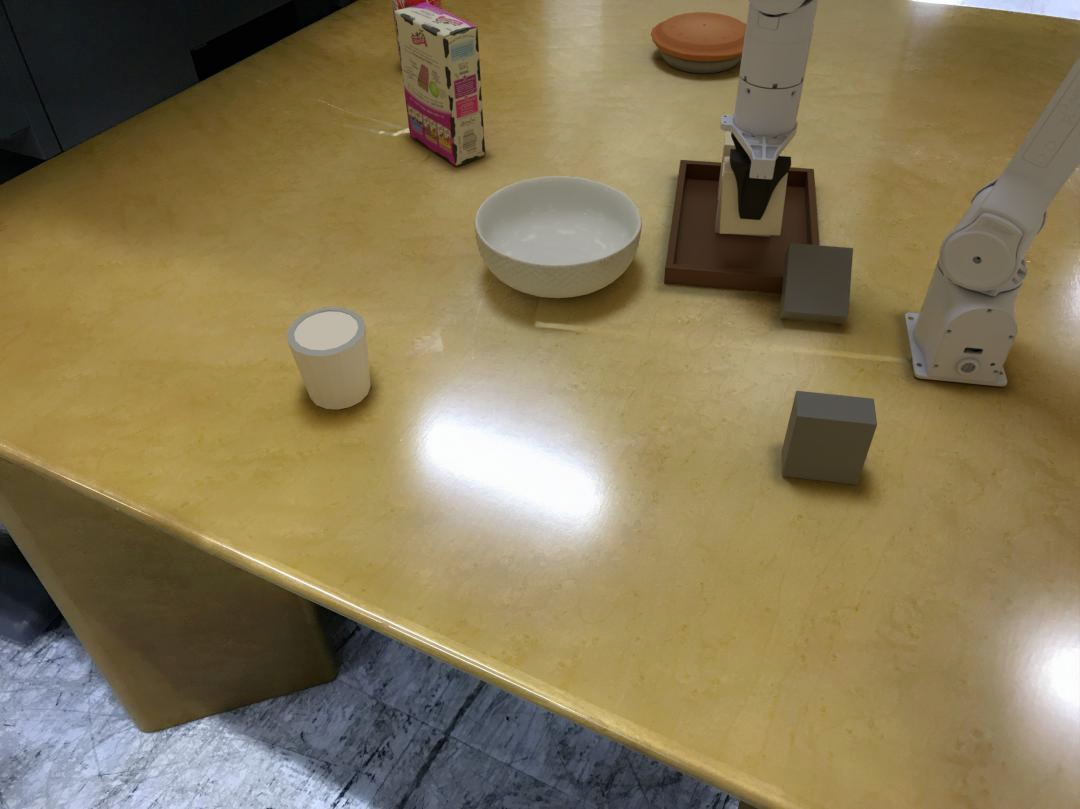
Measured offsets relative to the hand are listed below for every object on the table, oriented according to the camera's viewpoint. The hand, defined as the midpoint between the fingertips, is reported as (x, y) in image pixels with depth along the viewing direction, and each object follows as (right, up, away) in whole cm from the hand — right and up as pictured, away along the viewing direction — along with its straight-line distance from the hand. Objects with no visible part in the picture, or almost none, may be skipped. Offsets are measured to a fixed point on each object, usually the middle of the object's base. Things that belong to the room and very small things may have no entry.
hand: (750, 207), depth 90 cm
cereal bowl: (-19, -6, +6) cm, 21 cm away
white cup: (-40, -18, -7) cm, 44 cm away
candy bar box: (-33, +14, +27) cm, 45 cm away
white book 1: (+3, +5, +15) cm, 16 cm away
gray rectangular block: (+5, -11, -3) cm, 13 cm away
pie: (+3, +32, +45) cm, 56 cm away
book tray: (+1, -1, +10) cm, 10 cm away
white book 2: (+1, 0, +10) cm, 10 cm away
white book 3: (0, -2, +1) cm, 2 cm away
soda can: (-39, +31, +45) cm, 67 cm away
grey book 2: (+2, -25, -15) cm, 29 cm away
